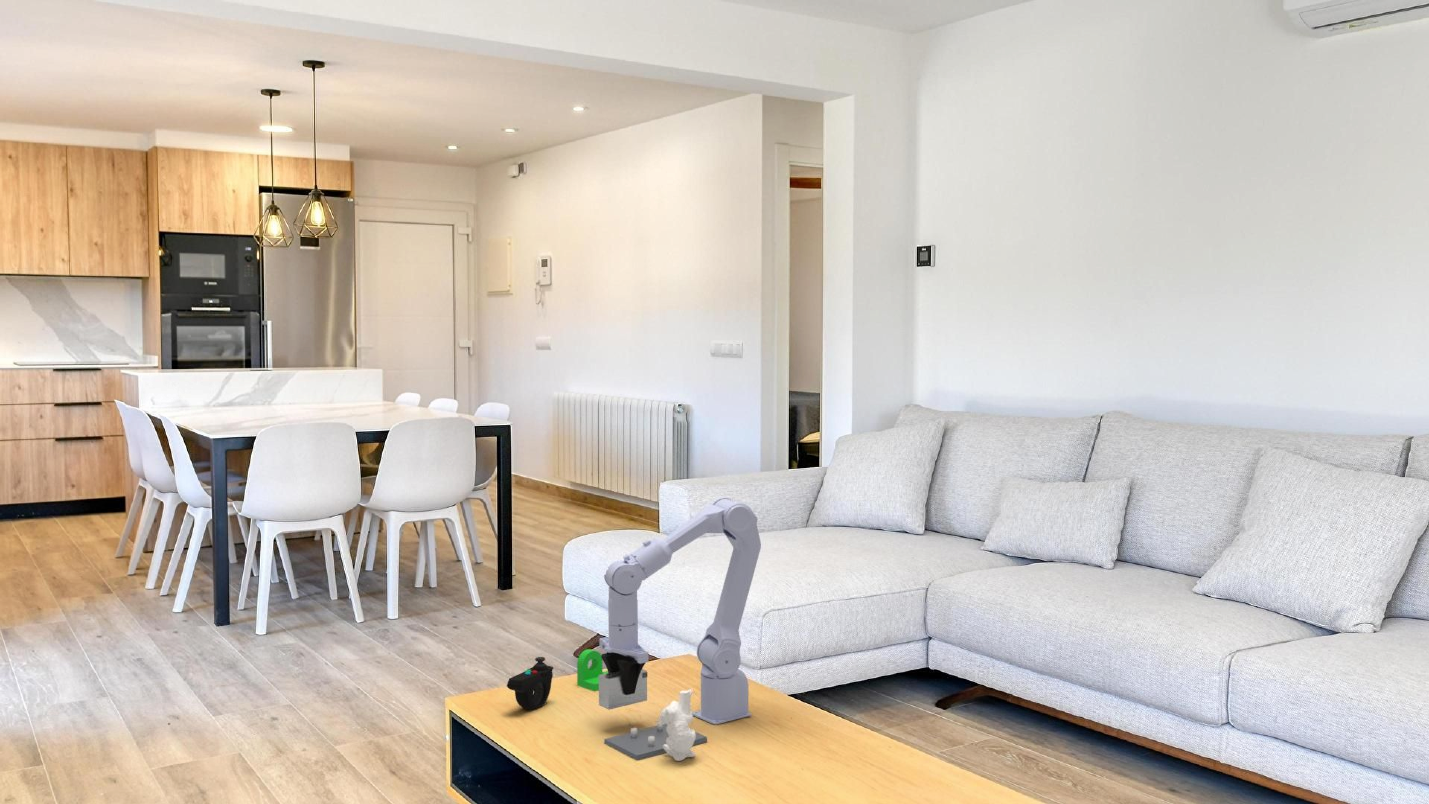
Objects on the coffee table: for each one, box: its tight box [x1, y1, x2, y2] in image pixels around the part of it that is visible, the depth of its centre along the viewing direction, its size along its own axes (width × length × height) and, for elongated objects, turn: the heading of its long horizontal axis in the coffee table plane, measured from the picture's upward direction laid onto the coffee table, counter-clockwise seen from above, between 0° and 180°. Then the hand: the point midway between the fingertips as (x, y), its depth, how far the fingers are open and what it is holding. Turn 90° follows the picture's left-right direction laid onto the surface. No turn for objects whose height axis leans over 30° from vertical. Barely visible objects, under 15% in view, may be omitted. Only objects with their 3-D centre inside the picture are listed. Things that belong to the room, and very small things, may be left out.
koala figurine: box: [658, 688, 696, 762], centre depth 213 cm, size 8×7×12 cm
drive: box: [598, 668, 648, 710], centre depth 228 cm, size 9×4×6 cm, turn 128°
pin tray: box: [603, 720, 708, 761], centre depth 220 cm, size 16×11×3 cm
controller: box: [506, 656, 554, 711], centre depth 240 cm, size 4×12×10 cm, turn 153°
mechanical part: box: [576, 648, 608, 692], centre depth 258 cm, size 12×6×8 cm, turn 135°
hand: (623, 691), depth 229 cm, fingers closed on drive, 3 cm apart
